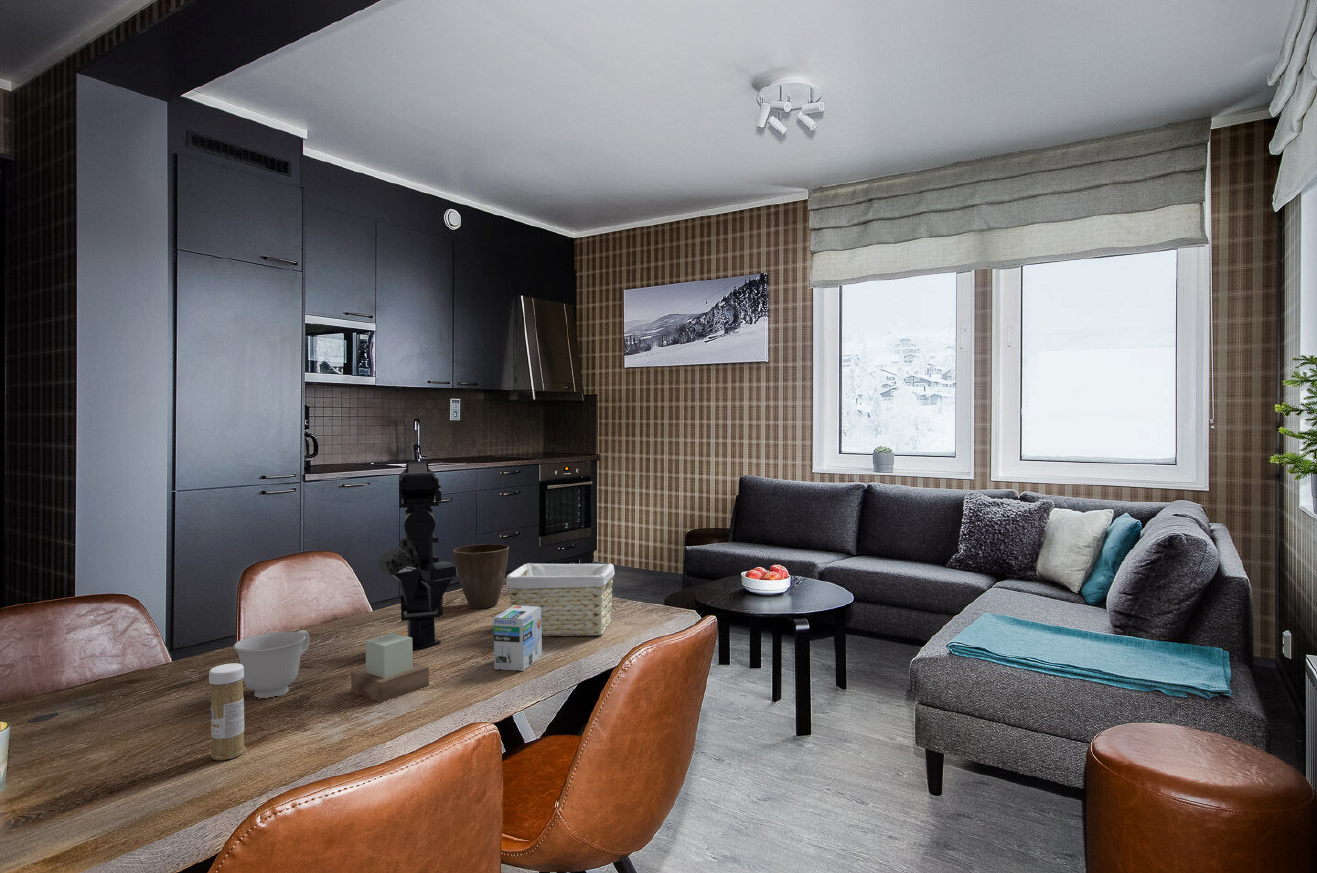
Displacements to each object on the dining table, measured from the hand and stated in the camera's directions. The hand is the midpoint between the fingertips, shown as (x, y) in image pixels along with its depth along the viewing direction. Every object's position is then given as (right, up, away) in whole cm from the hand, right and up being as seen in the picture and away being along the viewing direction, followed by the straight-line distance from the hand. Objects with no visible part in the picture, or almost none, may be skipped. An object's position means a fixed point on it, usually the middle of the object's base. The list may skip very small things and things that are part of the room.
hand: (421, 608), depth 150 cm
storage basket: (+26, -12, +27) cm, 39 cm away
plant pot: (0, -11, +51) cm, 52 cm away
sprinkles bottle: (-16, -13, -40) cm, 45 cm away
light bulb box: (+20, -12, +1) cm, 23 cm away
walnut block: (-2, -13, -13) cm, 18 cm away
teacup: (-23, -13, -13) cm, 29 cm away
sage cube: (-2, -9, -13) cm, 16 cm away
